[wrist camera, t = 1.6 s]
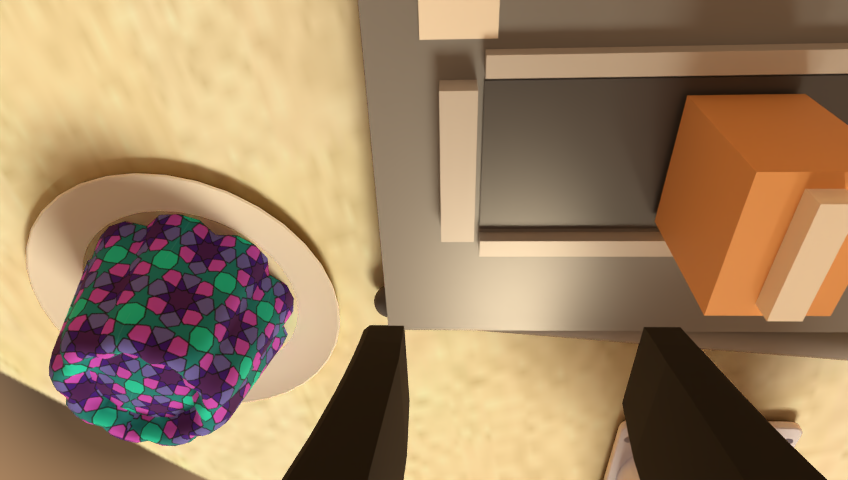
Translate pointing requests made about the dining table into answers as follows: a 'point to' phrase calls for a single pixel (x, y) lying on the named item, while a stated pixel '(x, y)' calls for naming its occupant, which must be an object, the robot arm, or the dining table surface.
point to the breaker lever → (759, 205)
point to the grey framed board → (564, 150)
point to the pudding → (174, 306)
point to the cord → (733, 341)
